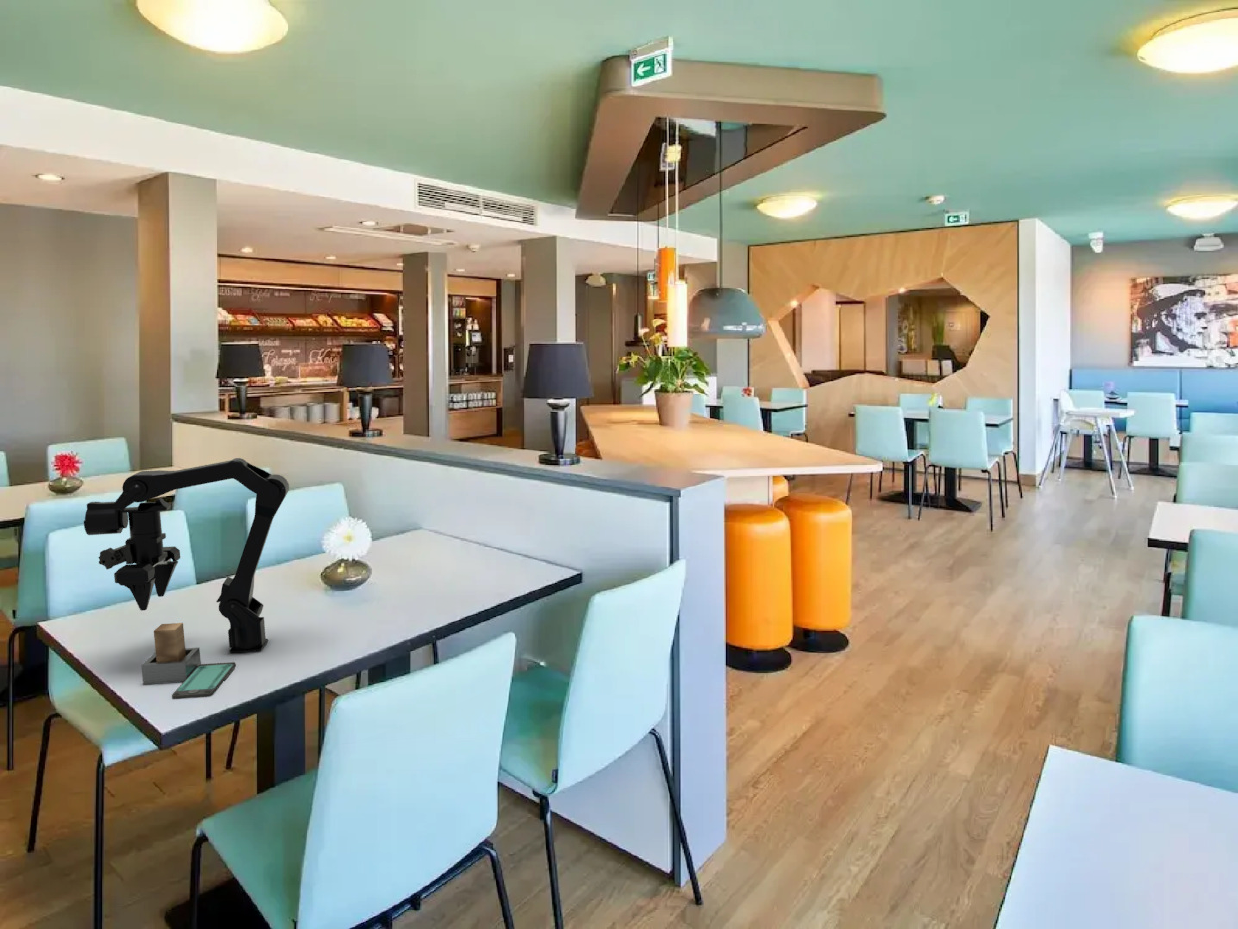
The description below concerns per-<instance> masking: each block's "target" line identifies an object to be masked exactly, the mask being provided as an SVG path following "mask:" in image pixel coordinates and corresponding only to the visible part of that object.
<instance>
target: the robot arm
mask: <svg viewBox="0 0 1238 929" xmlns="http://www.w3.org/2000/svg"><path fill="white" fill-rule="evenodd" d="M231 479H233V480H235V481H237V482H238V483H239V484H242V486H244V487H245V488H247V489H248V490H249V491H251V492H252V493H254V494H256V496H255V502H254V503H255V505H254V507H255V509H254V518H253V520H252V524H251V526H250V529H249V533H248V536H247V538H246V542H245V545H244V547H243V550H242V553H241V557H240V560H239V563H238V565H237V568H236V571H235V574H234V577H233V578H232V577H229V576H227V577H226V578H225V580H224V582H222V584H221V591H220V594H219V597H218V598H217V600H216V603H218V612H219V613H220V614H221V615H222V617H224V618H226V619H227V620H228V622H229V624H230V625H229V627H230V628H229V629H227V630H228V631H227V633H228V634H227V636H228V645H229V648H230V649H229V653H230V654H235V653H237V654H238V653H250V652H261V651H262V650H263V649H264V647H265V646H266V644H267V643H268V642H269V638H266V627H265V617H264V616H261V617H260V615H261V614H262V613H263V609H264V604H263V603H262V602H260V600H257V599H256V598H255V597H254V596H253V595H254V588H255V574H256V571H257V568H258V565H259V563H260V560H261V557H262V554H263V550H264V547H265V545H266V541H267V539H268V536H269V532H270V529H271V527H272V523H273V520H274V518H275V516H276V514H277V513H278V511H279V509H280V507H281V505H282V503H283V501H284V499H285V498H286V497H287V494H289V491H290V490H289V489H290V484H289V481H288V480H287V479H286V478H285V477H284V476H283V475H280V474H274V473H273V474H271V473H270V472H268V471H267V470H265V469H262V468H260V467H258V466H256V465H254V464H251V463H249V462H248V461H246V460H245V459H244V458H241V457H235V458H233V459H231V460H226V461H220V462H215V463H210V464H204V465H199V466H194V467H193V466H192V467H188V468H183V469H179V470H178V469H177V470H160V469H159V470H158V469H157V470H142V471H138V472H136V473H134V474H133V475H130V476H128V477H127V478H126V479H125V480H124V482H123V484H122V487H121V488H122V493H121V494H120V495H119V496H118V498H117V499H116V500H115V501H105V502H104V501H90V502H88V503H87V504H86V510H85V516H84V520H83V526H84V530H85V534H86V535H87V536H95V535H96V536H99V535H113V534H116V535H117V534H121V533H123V530H124V529H127V528H128V525H129V536H130V537H129V538H127V539H126V540H125V543H124V545H122V546H119V547H115V548H112V547H109V548H106V549H103V550H101V551H100V552H99V556H98V559H99V561H98V564H99V565H102V566H103V567H105V569H106V570H109V569H113V567H115V566H118V565H121V564H123V563H125V564H124V565H123V566H121V567H120V568H118V569H117V570H116V572H115V571H114V573H113V576H114V577H113V578H114V583H115V584H119V585H120V586H124V587H125V588H127V589H129V590H130V593H131V594H132V596H133V598H134V600H135V602H136V604H137V606H138V608H139V611H146V610H147V609H148V608H149V603H150V600H151V595H152V593H153V588H155V591H156V595H157V597H164V596H165V594H166V592H167V589H168V587H169V584H170V581H171V578H172V577H173V574H174V572H175V570H176V567H177V565H178V563H179V560H180V559H181V551H180V549H179V548H178V547H177V546H164V540H165V539H167V538H166V537H167V534H166V532H163V530H162V529H163V528H162V520H161V518H162V517H161V512H163V511H167V510H169V509H170V508H171V506H172V505H171V504H170V503H168V502H167V501H166V500H164V498H162V497H160V496H163V495H165V494H167V493H170V492H173V491H175V490H180V489H185V488H191V487H195V486H201V485H205V484H211V483H216V482H222V481H226V480H231ZM158 497H159V498H158ZM155 498H158V499H157V500H156V501H151V502H149V501H150V500H152V499H155ZM147 501H148V502H147ZM134 503H139V504H138V506H133V507H131V505H132V504H134ZM129 506H130V507H129ZM154 586H155V587H154Z"/></svg>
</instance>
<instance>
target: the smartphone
mask: <svg viewBox="0 0 1238 929" xmlns="http://www.w3.org/2000/svg"><path fill="white" fill-rule="evenodd" d="M236 667H237V665H236V662H234V661H232V662H231V661H230V662H228V661H227V662H214V663H212V662H211V663H201V665H199V666H198V667H197V668H196V669H195V670H194V671H193V672H192V673H191V674H190V676H189V677H188V678H187V679H186V680H185V681H184V682H181V684H180V685H179V686H178V687H177V689H176V690H174V692H173V693H172V694H171V697H172V700H178V699H179V700H180V699H194V698H198V699H199V698H207V697H212V696H213V695H214V694H215V693H216V691H217V690H218V689H219V688H220V687H221V685H223V683H224V682H226V681H227V679H228V678H229V676H230V675H231V674H232V672H233V671H234V670H235V669H236ZM223 681H224V682H223Z"/></svg>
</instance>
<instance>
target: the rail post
mask: <svg viewBox="0 0 1238 929" xmlns="http://www.w3.org/2000/svg"><path fill="white" fill-rule="evenodd" d="M184 628H185V627H184V622H177V623H175V622H174V623H173V622H172V623H161V624H160V625H159V626H157V627H156V628H155V629H154V630H153V638H154V647H155V648H154V651H155V652H156V661H157V663H158V662H173V661H182V660H183V659H184V658H185V657H186V651H185V648H186V644H185V643H186V642H185V629H184Z"/></svg>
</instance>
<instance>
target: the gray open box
mask: <svg viewBox="0 0 1238 929" xmlns="http://www.w3.org/2000/svg"><path fill="white" fill-rule="evenodd" d="M200 650H201V649H200V647H185V651H186V657H185V658H184V659H183V660H182V661H173V662H158V663H157V661H156V651H155V652H154V653H153V654H152V655H151V656H150V657H149V658H148V659H147V660H145V661H144V662H143V663H142V664H141V667H140V668H141V675H142V677H141V678H142V685H143V686H144V685H158V684H171V683H183V682H184V681H185V680H186V679H187V678H188V677H189V676H190V674H191V673H192V672H193V671H194V670H195V669H196V668H197V667H198V666H199V665H201V664H202V660H201V651H200Z"/></svg>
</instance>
